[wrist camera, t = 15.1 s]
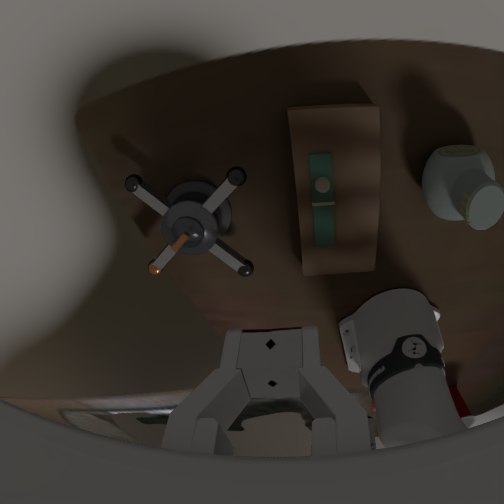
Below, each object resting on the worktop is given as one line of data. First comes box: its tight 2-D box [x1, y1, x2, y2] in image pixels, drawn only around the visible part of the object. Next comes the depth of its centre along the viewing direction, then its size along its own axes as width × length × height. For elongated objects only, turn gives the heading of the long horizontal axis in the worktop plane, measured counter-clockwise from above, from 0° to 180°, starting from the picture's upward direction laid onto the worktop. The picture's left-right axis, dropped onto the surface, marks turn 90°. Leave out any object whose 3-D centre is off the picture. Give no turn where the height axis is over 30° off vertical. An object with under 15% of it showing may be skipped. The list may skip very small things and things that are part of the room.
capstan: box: [125, 167, 254, 276], centre depth 38 cm, size 20×20×5 cm
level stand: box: [287, 103, 381, 276], centre depth 36 cm, size 22×10×4 cm, turn 9°
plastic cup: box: [449, 386, 476, 428], centre depth 59 cm, size 11×11×12 cm
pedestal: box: [167, 180, 232, 239], centre depth 41 cm, size 9×9×1 cm
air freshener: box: [422, 145, 504, 230], centre depth 30 cm, size 11×8×10 cm
